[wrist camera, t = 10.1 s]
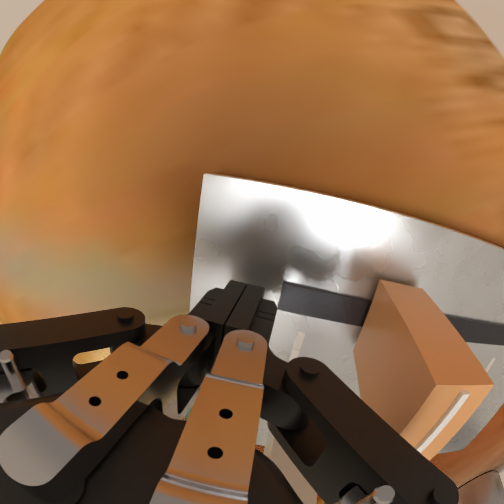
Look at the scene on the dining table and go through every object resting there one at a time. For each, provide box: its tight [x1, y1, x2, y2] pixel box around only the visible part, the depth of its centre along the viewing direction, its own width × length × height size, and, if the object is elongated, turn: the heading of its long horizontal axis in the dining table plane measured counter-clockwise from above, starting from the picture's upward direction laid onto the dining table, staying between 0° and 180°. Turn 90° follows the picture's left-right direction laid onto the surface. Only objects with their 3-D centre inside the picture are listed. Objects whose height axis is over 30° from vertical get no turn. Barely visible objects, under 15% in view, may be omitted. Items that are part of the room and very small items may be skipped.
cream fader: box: [263, 430, 317, 504], centre depth 11 cm, size 2×4×7 cm, turn 170°
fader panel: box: [186, 173, 504, 454], centre depth 14 cm, size 26×18×2 cm
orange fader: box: [353, 279, 494, 461], centre depth 8 cm, size 2×4×7 cm, turn 171°
